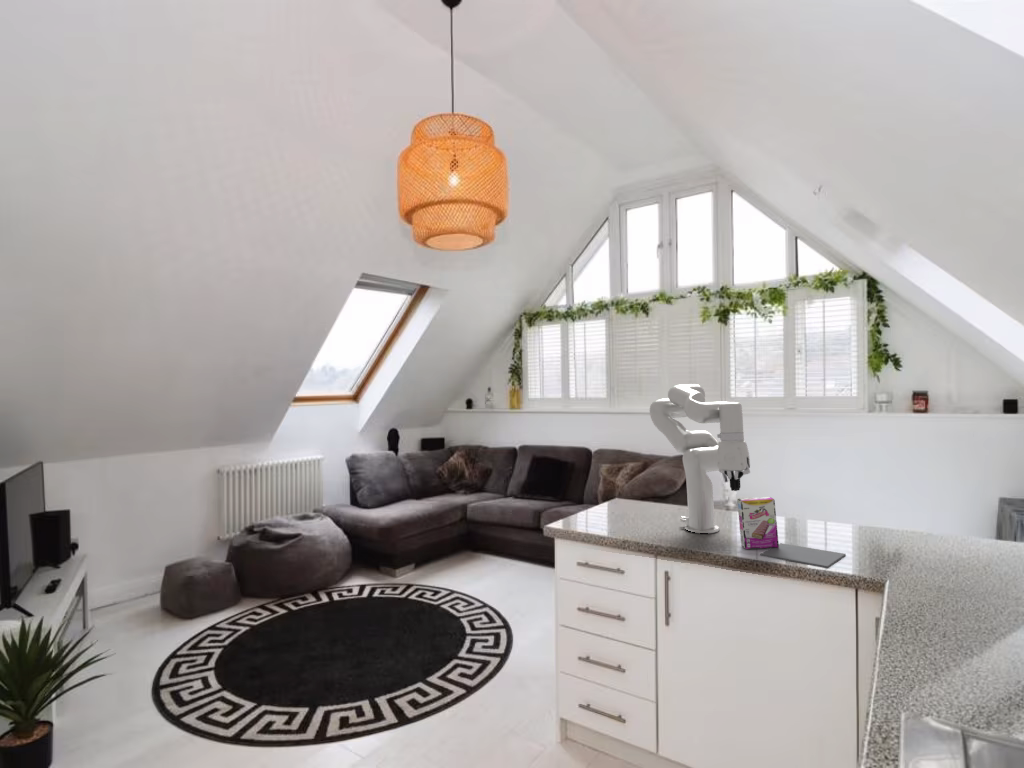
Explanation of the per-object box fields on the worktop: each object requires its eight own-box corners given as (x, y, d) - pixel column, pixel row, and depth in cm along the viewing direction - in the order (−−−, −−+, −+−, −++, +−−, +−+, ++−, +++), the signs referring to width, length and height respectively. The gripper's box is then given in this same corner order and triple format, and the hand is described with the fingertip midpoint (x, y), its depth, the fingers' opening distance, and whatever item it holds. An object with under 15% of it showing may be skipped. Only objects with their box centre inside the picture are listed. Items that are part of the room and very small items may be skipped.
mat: (760, 555, 182) (760, 553, 182) (780, 544, 193) (780, 543, 193) (827, 567, 167) (827, 566, 167) (845, 555, 178) (845, 553, 178)
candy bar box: (745, 549, 188) (740, 500, 189) (741, 546, 193) (736, 498, 194) (780, 547, 187) (774, 498, 188) (774, 544, 192) (769, 496, 193)
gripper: (706, 438, 199) (710, 490, 198) (748, 438, 188) (751, 493, 187) (717, 436, 204) (720, 487, 204) (758, 437, 193) (761, 490, 193)
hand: (735, 490), depth 196 cm, fingers closed
